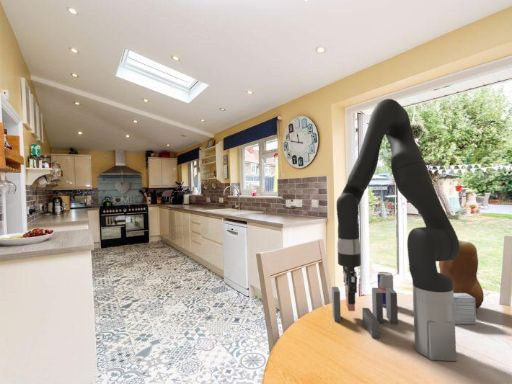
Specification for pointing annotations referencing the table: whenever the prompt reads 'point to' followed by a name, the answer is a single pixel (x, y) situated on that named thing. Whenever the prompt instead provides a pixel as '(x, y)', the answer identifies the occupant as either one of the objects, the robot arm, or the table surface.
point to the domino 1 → (336, 304)
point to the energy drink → (384, 284)
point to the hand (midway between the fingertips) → (350, 300)
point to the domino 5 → (391, 306)
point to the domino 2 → (350, 306)
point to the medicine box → (464, 309)
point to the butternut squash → (464, 272)
